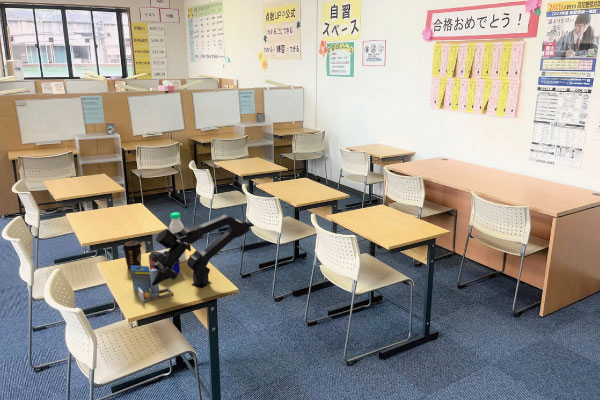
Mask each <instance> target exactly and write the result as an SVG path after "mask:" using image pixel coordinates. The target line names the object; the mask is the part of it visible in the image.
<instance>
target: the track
mask: <svg viewBox="0 0 600 400" xmlns="http://www.w3.org/2000/svg"><path fill="white" fill-rule="evenodd" d="M165 292H168V293H165ZM149 293H150V292H149ZM160 293H164V294H161V295H160ZM171 296H174V292H173V290H171V288H170V287H169V286H168V287H165V288H161V289H160V288H159V296H156V297H153V300H154V301H156V300H160V299H164V298H168V297H171Z"/></svg>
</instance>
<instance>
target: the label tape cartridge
mask: <svg viewBox="0 0 600 400" xmlns="http://www.w3.org/2000/svg"><path fill="white" fill-rule="evenodd" d="M137 268H139V269H137ZM130 271H131V280H132V286H133V287H132V289H133V291H138V287H140V289H141V290H142V291H143V292H147V291H146V285H148V286H149V288H150V289H151V282H149V279H150V265H149V266H147V265H141V266H135V265H131V270H130ZM148 291H149V290H148ZM149 292H150V291H149Z"/></svg>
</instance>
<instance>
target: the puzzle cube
mask: <svg viewBox="0 0 600 400" xmlns="http://www.w3.org/2000/svg"><path fill="white" fill-rule="evenodd" d="M168 250H169V249H168V248H165V249H162V250H159V251H158V252H161V253H164V252H165V251H168ZM149 256H150V254H149V255H148V264H149V271H150V270H151V269H154V268H153V263H155V262H153V261H152V260H151V259H150V258H149ZM178 260H179V259H178ZM180 267H181V266H180V262H176V263H175V264H174V266H173V268H174V269H173V270H174V271H175V272H176V273H177V274H179V273H181V269H180Z"/></svg>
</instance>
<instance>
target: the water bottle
mask: <svg viewBox="0 0 600 400" xmlns="http://www.w3.org/2000/svg"><path fill="white" fill-rule="evenodd" d="M169 216H170V217H169V218H170V219H171V221H170V223H169V227H168V230H169V231H170V232H172V233H176V232H179V231H181V230H182V229H183V228H185V226H184V224H183V223H182V221H181V213H180V212H178V211H177V212H175V211H174V212H172V213H170V215H169ZM177 241H178V242H180V241H179V240H177ZM184 243H185V244H186V242H184ZM186 259H187V255H186V251H185V252H184V253H183V254H182V255H181V257H180V258H179V260H180V261H179V263H182V262H184V261H186Z"/></svg>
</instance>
